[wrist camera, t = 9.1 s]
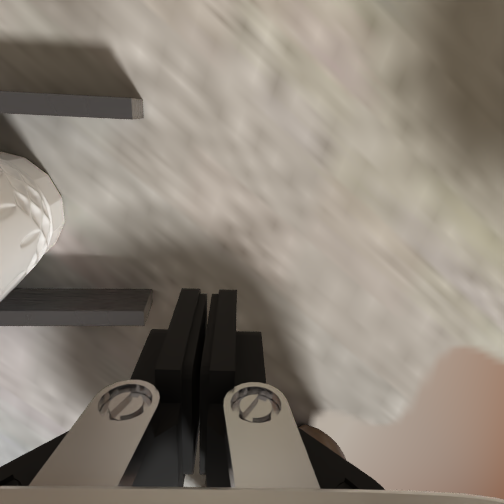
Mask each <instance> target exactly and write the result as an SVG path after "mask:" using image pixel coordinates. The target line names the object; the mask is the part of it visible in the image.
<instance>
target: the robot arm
mask: <svg viewBox="0 0 504 504" xmlns="http://www.w3.org/2000/svg"><path fill="white" fill-rule="evenodd" d="M236 302H237V290H219V294H212V298H211V304H210V311H209V317H208V323H207V294H201V292H200V289H186V288H182V290H181V293H180V296H179V299H178V302H177V305H176V307H175V310H174V313H173V316H172V319H171V322H170V325H169V328H168V330H165V329H152V330H151V331H150V333H149V336H148V338H147V341H146V343H145V345H144V348H143V350H142V353H141V355H140V357H139V360H138V362H137V364H136V367H135V369H134V372H133V374H132V376H131V379H130V380H125V381H119V382H116V383H114V384H111V385H109V386H107V387H106V388H104V389H102V390H101V391H100V392H99V393H98V394H97V395H96V396H95V397H94V398H93V399H92V401H91V402H90V404H89V405H88V406H87V408H86V409H85V410H84V412H83V413H82V414H81V416H80V417H79V418H78V420H77V421H76V422H75V424H74V425H73V426H72V428H71V429H70V430H69V431H68V432H66V433H64V434H62V435H60V436H58V437H56V438H54V439H52V440H51V441H49V442H47V443H45V444H43V445H41V446H39V447H37V448H35V449H34V450H32V451H30V452H28V453H26V454H24V455H22V456H20V457H18V458H17V459H15V460H13V461H11V462H9V463H7V464H5V465H3V466H1V467H0V504H504V500H503V499H499V498H494V497H486V496H479V495H470V494H462V493H445V492H426V491H408V490H385V489H384V488H383V487H382V486H381V485H380V484H378V483H377V482H376V481H375V480H374V479H372V478H371V477H369V476H368V475H367V474H365V473H364V472H362V471H361V470H359V469H358V468H357V467H355V466H354V465H352V464H351V463H349V462H348V461H346V460H345V459H344V458H342V457H341V456H339V455H338V454H336V453H335V452H333V451H332V450H331V449H329V448H328V447H326V446H325V445H323V444H322V443H320V442H319V441H318V440H316V439H315V438H313V437H312V436H310V435H309V434H307V433H306V432H305V431H303V430H302V429H300V428H299V427H297V425H296V422H295V420H294V417H293V414H292V412H291V409H290V406H289V404H288V401H287V399H286V398H285V396H284V394H283V393H282V392H280V391H279V390H278V389H277V388H275V387H273V386H271V385H269V384H266V378H265V367H264V357H263V346H262V336H261V332H240V331H236ZM199 426H200V474H205V475H206V487H183V484H184V478H185V474H193V471H194V464H195V456H196V449H197V441H198V433H199Z"/></svg>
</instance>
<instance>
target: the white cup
mask: <svg viewBox="0 0 504 504" xmlns="http://www.w3.org/2000/svg"><path fill="white" fill-rule="evenodd" d="M64 223H65V219H64V210H63V201H62V197H61V195H60V194H59V192H58V190H57V189H56V187H55V185H54V184H53V182H52V180H51V179H50V177H49V175H48V174H46V173H45V172H43V171H42V170H41V169H39V168H38V167H37V166H35V165H34V164H33V163H31V162H30V161H29V160H27V159H26V158H24V157H20V156H16V155H13V154H9V153H5V152H1V151H0V302H1V301H2V300H3V299H4V298H5V297H6V296H7V295H8V294H9V293H10V292H11V291H12V290H13V289H14V288H15V287H16V286H17V285H18V284H19V283H20V282H21V281H22V280H23V279H24V277H25V276H26V275H27V274H28V273H29V272H30V271H31V270H32V269H33V268H34V267H35V266H36V264H37V263H38V262H39V260H40V259H41V258H42V256H43V255H44V254H45V253H46V252H47V251H48V250H49V249H50V248H51V247H52V246H53V245H54V244H55V243H56V242H57V239H58V237H59V235H60V232H61V230H62V227H63V225H64Z"/></svg>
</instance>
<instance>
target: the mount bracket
mask: <svg viewBox="0 0 504 504" xmlns="http://www.w3.org/2000/svg"><path fill="white" fill-rule="evenodd" d="M0 113H11V114H32V115H52V116H73V117H93V118H114V119H140V118H143V100H142V99H134V98H120V97H102V96H83V95H64V94H46V93H27V92H8V91H0ZM151 305H152V290H149V289H18V288H14V289H13V290H12V291H11V292H10V293H9V294H8V295H7V296H6V297H5V298H4V299H3V300H2V301H1V302H0V326H144V325H145V322H146V319H147V316H148V314H149V311H150V308H151Z"/></svg>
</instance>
